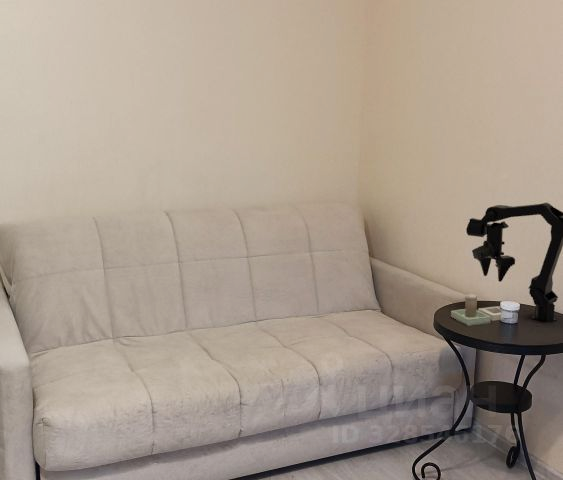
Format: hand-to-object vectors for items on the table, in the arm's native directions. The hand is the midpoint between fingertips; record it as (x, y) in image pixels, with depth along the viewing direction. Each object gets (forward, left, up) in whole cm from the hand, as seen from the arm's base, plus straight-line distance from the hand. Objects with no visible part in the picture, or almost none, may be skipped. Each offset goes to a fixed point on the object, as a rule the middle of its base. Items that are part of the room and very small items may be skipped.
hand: (492, 278), depth 262 cm
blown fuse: (-9, +15, -11) cm, 21 cm away
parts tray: (-9, +15, -12) cm, 22 cm away
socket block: (-8, +4, -12) cm, 15 cm away
